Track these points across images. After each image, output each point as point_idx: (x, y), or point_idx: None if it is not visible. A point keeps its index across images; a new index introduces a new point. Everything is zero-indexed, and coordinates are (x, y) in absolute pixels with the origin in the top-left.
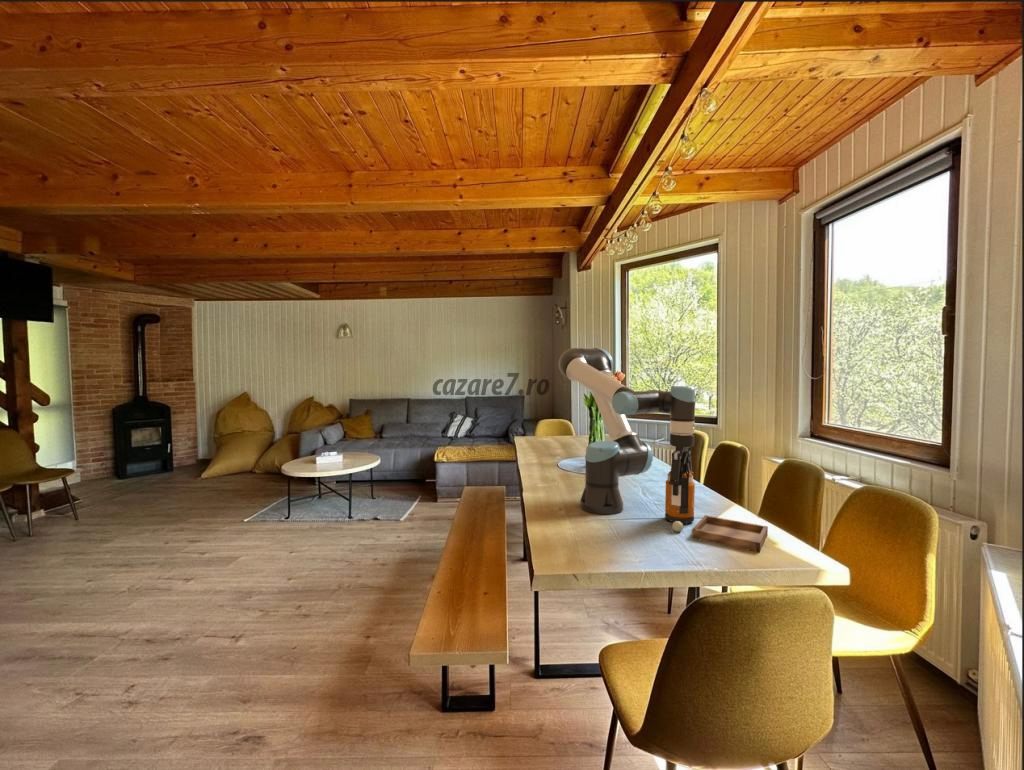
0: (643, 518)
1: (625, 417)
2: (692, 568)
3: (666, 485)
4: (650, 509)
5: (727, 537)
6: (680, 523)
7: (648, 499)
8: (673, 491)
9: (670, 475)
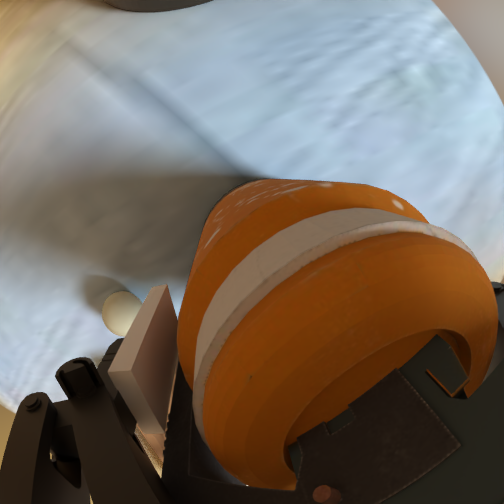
0: (167, 111)
1: None
2: (4, 400)
3: (220, 230)
4: (318, 74)
5: (155, 449)
6: (117, 334)
7: (419, 39)
8: (105, 362)
9: (5, 454)
